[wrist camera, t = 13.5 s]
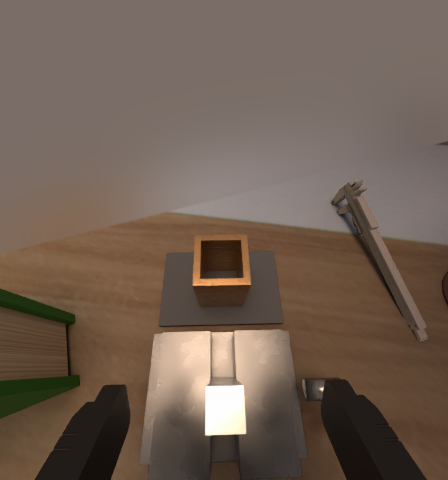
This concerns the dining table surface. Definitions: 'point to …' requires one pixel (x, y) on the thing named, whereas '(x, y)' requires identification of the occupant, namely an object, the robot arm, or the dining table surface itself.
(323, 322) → the dining table surface
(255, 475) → the grey slotted block
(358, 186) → the caliper
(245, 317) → the slate pad
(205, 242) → the copper collar
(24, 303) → the hardback book
